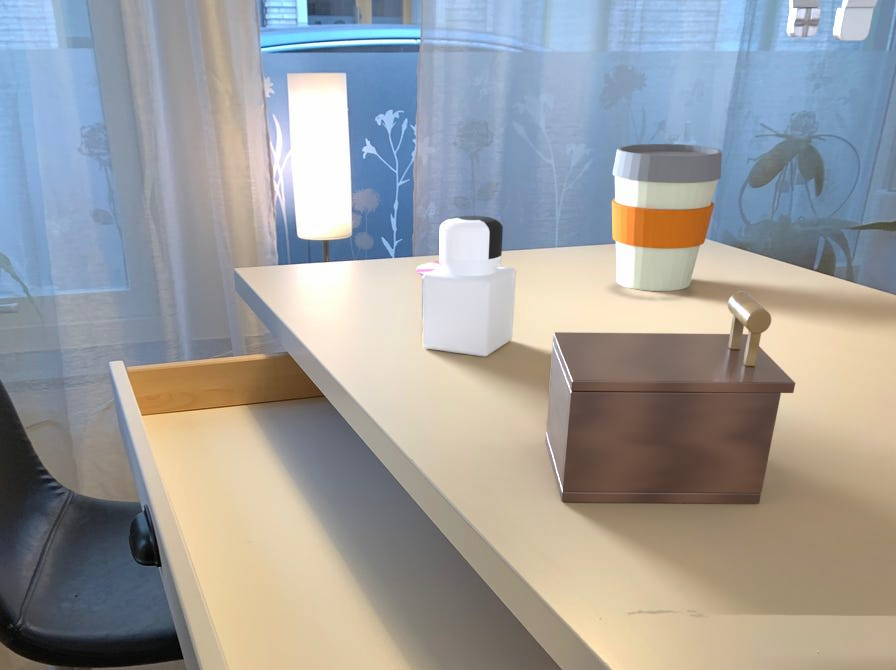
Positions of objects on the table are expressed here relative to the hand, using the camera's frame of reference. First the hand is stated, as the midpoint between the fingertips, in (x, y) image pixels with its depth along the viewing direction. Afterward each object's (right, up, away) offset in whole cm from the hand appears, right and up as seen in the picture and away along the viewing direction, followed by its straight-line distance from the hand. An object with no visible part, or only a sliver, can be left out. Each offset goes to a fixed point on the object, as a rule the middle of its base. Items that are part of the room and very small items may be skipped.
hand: (823, 39), depth 69 cm
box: (-11, -28, +6) cm, 31 cm away
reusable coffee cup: (+2, +4, +58) cm, 58 cm away
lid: (-10, -21, +2) cm, 24 cm away
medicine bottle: (-22, -11, +35) cm, 43 cm away
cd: (-22, +7, +63) cm, 67 cm away
